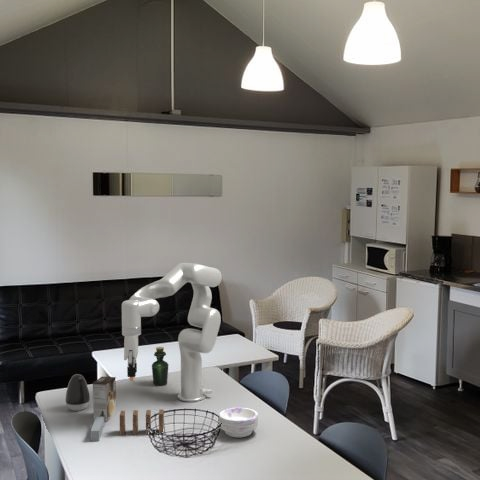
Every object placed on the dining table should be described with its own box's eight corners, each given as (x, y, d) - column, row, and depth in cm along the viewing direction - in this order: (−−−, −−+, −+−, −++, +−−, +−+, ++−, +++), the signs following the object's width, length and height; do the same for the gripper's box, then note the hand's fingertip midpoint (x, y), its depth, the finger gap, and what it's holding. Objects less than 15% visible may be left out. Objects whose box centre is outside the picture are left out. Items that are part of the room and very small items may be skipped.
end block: (104, 426, 242) (103, 416, 242) (98, 441, 228) (98, 430, 228) (96, 426, 242) (96, 417, 242) (90, 441, 228) (90, 431, 228)
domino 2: (134, 377, 250) (134, 358, 249) (133, 380, 245) (133, 361, 244) (130, 377, 250) (130, 358, 249) (129, 381, 245) (129, 361, 244)
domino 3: (138, 429, 239) (137, 410, 238) (137, 435, 234) (136, 414, 233) (134, 430, 239) (133, 410, 238) (132, 435, 234) (132, 415, 233)
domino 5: (163, 429, 240) (163, 409, 239) (163, 434, 235) (162, 414, 234) (159, 429, 240) (159, 409, 239) (159, 434, 235) (158, 414, 234)
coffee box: (102, 412, 257) (101, 375, 256) (116, 413, 256) (116, 376, 254) (93, 420, 248) (92, 382, 247) (107, 422, 247) (107, 383, 246)
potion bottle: (161, 388, 289) (160, 351, 287) (148, 385, 293) (147, 348, 292) (172, 383, 296) (171, 347, 294) (159, 380, 300) (159, 345, 299)
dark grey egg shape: (72, 415, 255) (71, 379, 253) (61, 408, 262) (60, 374, 261) (94, 409, 261) (93, 374, 260) (83, 402, 269) (82, 369, 268)
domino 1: (125, 430, 238) (125, 410, 238) (124, 435, 234) (123, 415, 233) (121, 430, 238) (120, 410, 238) (119, 435, 233) (119, 415, 233)
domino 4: (150, 429, 239) (150, 409, 239) (150, 434, 234) (149, 414, 234) (146, 429, 239) (146, 409, 238) (146, 434, 234) (145, 414, 234)
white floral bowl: (238, 422, 247) (238, 403, 246) (266, 433, 236) (266, 413, 235) (210, 433, 236) (210, 413, 235) (238, 444, 225) (238, 424, 224)
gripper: (124, 326, 254) (125, 368, 255) (119, 336, 237) (120, 381, 238) (142, 325, 254) (143, 368, 256) (139, 335, 237) (139, 380, 239)
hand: (132, 374), depth 247 cm, fingers closed on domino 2, 4 cm apart
